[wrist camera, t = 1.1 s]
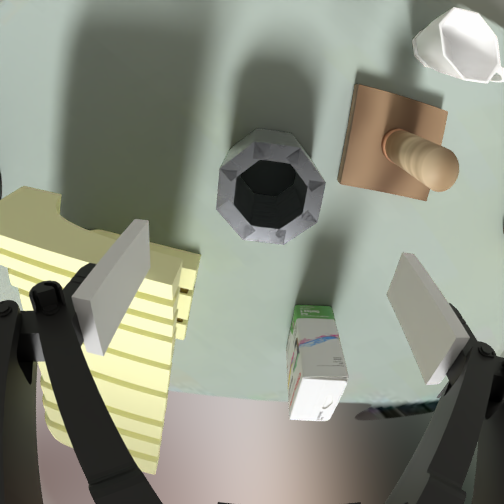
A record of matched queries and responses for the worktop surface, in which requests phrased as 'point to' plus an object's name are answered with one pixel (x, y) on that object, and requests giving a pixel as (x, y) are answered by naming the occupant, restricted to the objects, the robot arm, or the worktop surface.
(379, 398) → the worktop surface
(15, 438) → the robot arm
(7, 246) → the slatted curved stool
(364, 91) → the post
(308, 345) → the ink box
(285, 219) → the grey hollow octagonal piece
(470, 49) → the cup
